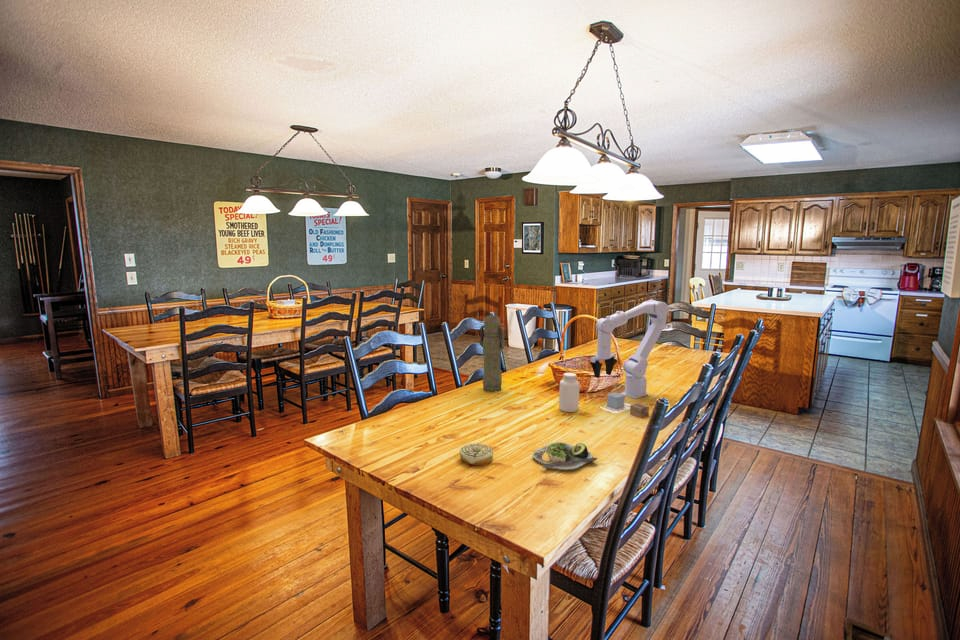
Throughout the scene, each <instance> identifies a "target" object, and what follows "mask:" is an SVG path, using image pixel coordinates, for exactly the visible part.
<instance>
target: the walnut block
mask: <svg viewBox="0 0 960 640" xmlns="http://www.w3.org/2000/svg"><path fill="white" fill-rule="evenodd" d="M649 414H650V406H648V405H646V404H643V403H640V402H638V403H637V402H636V403H633V404H630V409H629V415H631V416H634V417H637V418H639V419H641V418H644V416H645V417H648V416H649Z"/></svg>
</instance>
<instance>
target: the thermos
mask: <svg viewBox="0 0 960 640" xmlns="http://www.w3.org/2000/svg"><path fill="white" fill-rule="evenodd" d="M479 335H480V339H479V340H480V343H479V345H480V347H482V355H483V374H482V386H483V387H482V390H483V391H484V390H485V392H487V391H490V392H489V393H496V392H495V391H497V392H501V390H502V384H503V382H502V380H503V379H502V377H503V375H502V372H501V371H502V369H501V367H502V366H501V361H502V359H501V357H502V356H501V355H502V350H503V349H505V328H504V326H502V325H501V320H500V317H499V316H498V315H497V314H496V315H495V314H488V315H486V316H485V318H484V320H483V325H481V326H480V327H479Z"/></svg>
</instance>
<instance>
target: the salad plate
mask: <svg viewBox="0 0 960 640" xmlns="http://www.w3.org/2000/svg"><path fill="white" fill-rule="evenodd" d="M545 452H547V453H548V459H549V460H545V459H542V455H543V454H544V453H545ZM544 455H545V454H544ZM544 455H543V456H544ZM532 457H533V459H534V460H535V461H537V462H539V463H538V464H540V465H541V467H542V468H543V469H550V470H551V469H552V470H556V469H557V471H558V470H559V471H575V470H577V469H579V468H581V467H584V466H587V465H588V464H590V463H592V462H595V461H597V460H598V457H593V454H592V453H591V452H590V451H588V447H587V445H586V444H585V443H582V442H580V443H576V444H575V445H572V444H570V443H568V442H567V443H566V442H563V441H562V442H559V441H557V442H550V443H548V444H547V445H545V446H542V447H540V448H537V449H535V451H532Z"/></svg>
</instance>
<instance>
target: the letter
mask: <svg viewBox="0 0 960 640" xmlns="http://www.w3.org/2000/svg"><path fill="white" fill-rule="evenodd" d="M630 405H631V404H630V403H628V402H625V403H624V407H622V408H619V409H614V408H611V407H608V406H607V405H605V406H606V407H605V408H604V407H603V408H602V406H601V407H600V408H601V409H600V408H599V409H600V410H603V411H607V412H609V413H612V414H613V415H614V414H615V415H617V414H619V413H622V412H626V411H630ZM598 406H599V405H597V406H596V408H598Z"/></svg>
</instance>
